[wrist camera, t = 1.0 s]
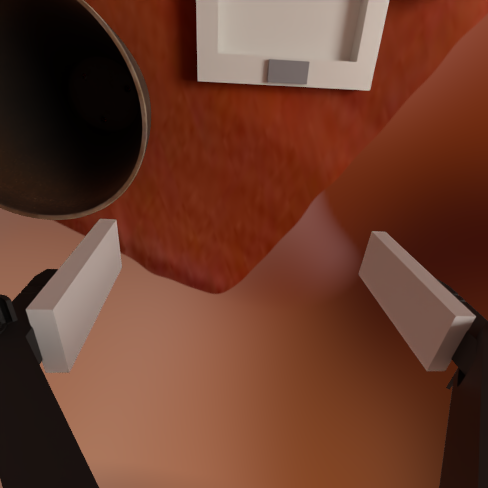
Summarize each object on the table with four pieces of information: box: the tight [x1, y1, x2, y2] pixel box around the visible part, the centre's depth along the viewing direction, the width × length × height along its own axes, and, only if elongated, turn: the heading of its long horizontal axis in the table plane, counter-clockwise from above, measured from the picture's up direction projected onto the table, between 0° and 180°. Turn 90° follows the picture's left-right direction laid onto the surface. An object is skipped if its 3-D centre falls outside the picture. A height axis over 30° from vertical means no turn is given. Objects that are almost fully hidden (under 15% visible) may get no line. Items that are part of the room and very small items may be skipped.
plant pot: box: [0, 0, 151, 220], centre depth 26 cm, size 15×15×16 cm
